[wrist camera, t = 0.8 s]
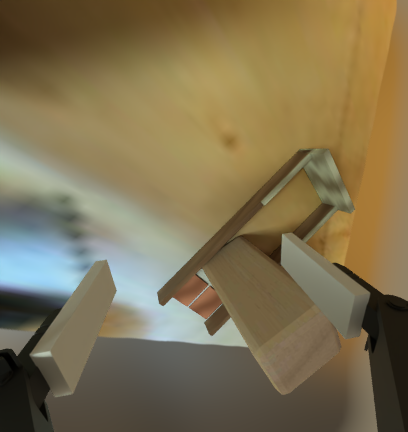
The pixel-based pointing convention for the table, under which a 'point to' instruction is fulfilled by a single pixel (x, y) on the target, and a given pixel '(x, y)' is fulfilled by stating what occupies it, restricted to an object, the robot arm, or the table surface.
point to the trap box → (320, 178)
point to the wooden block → (272, 314)
